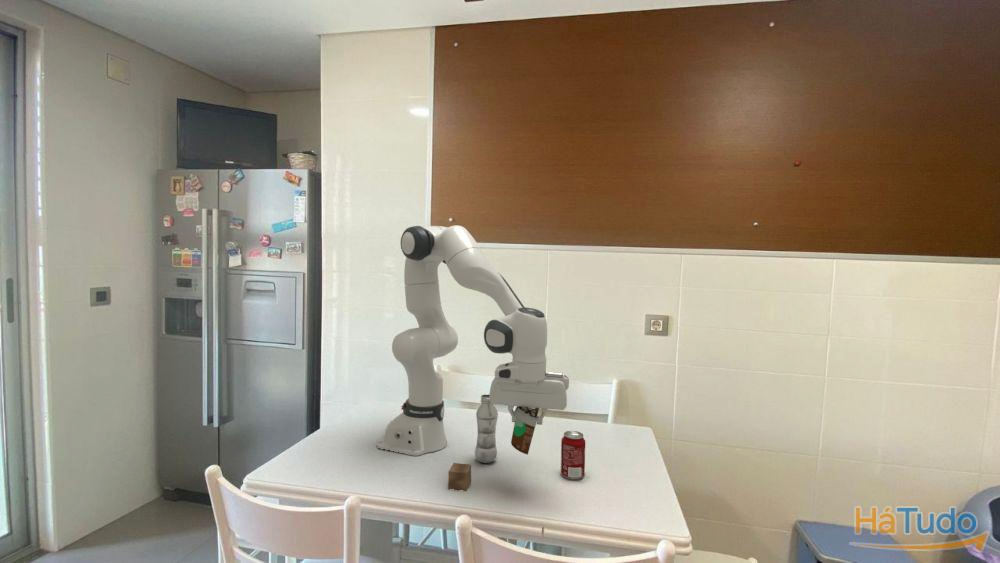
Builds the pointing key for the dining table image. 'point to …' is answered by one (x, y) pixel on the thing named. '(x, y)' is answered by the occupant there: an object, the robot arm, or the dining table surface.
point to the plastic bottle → (486, 431)
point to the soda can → (573, 455)
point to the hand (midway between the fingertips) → (527, 422)
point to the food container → (524, 428)
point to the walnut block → (459, 476)
